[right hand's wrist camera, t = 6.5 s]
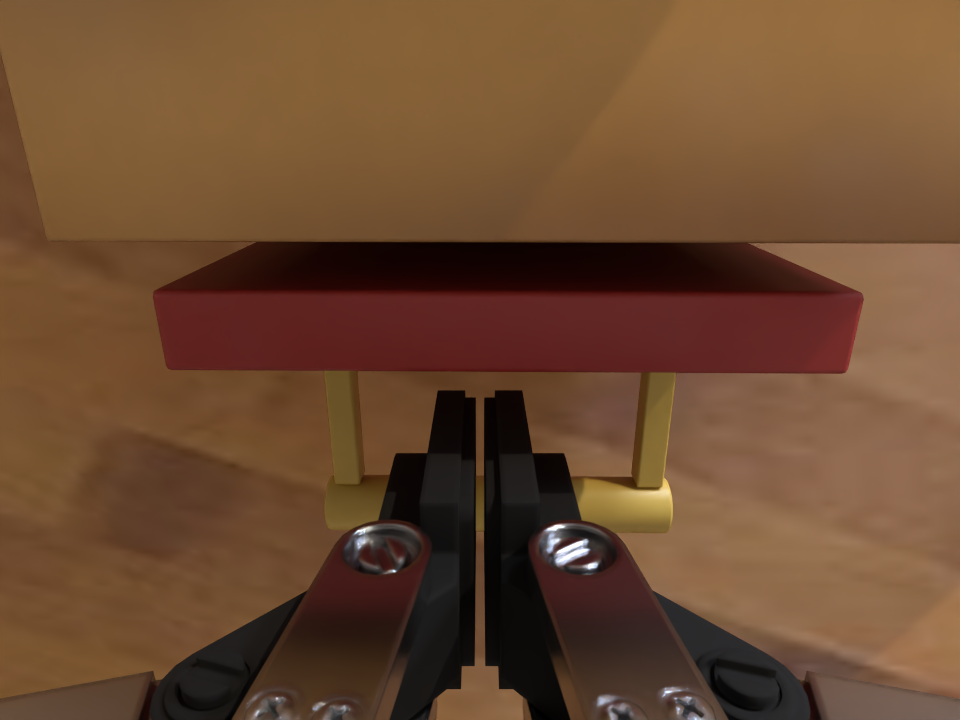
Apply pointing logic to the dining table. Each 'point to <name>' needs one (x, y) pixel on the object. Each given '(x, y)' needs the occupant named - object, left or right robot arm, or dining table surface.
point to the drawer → (508, 333)
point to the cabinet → (489, 120)
